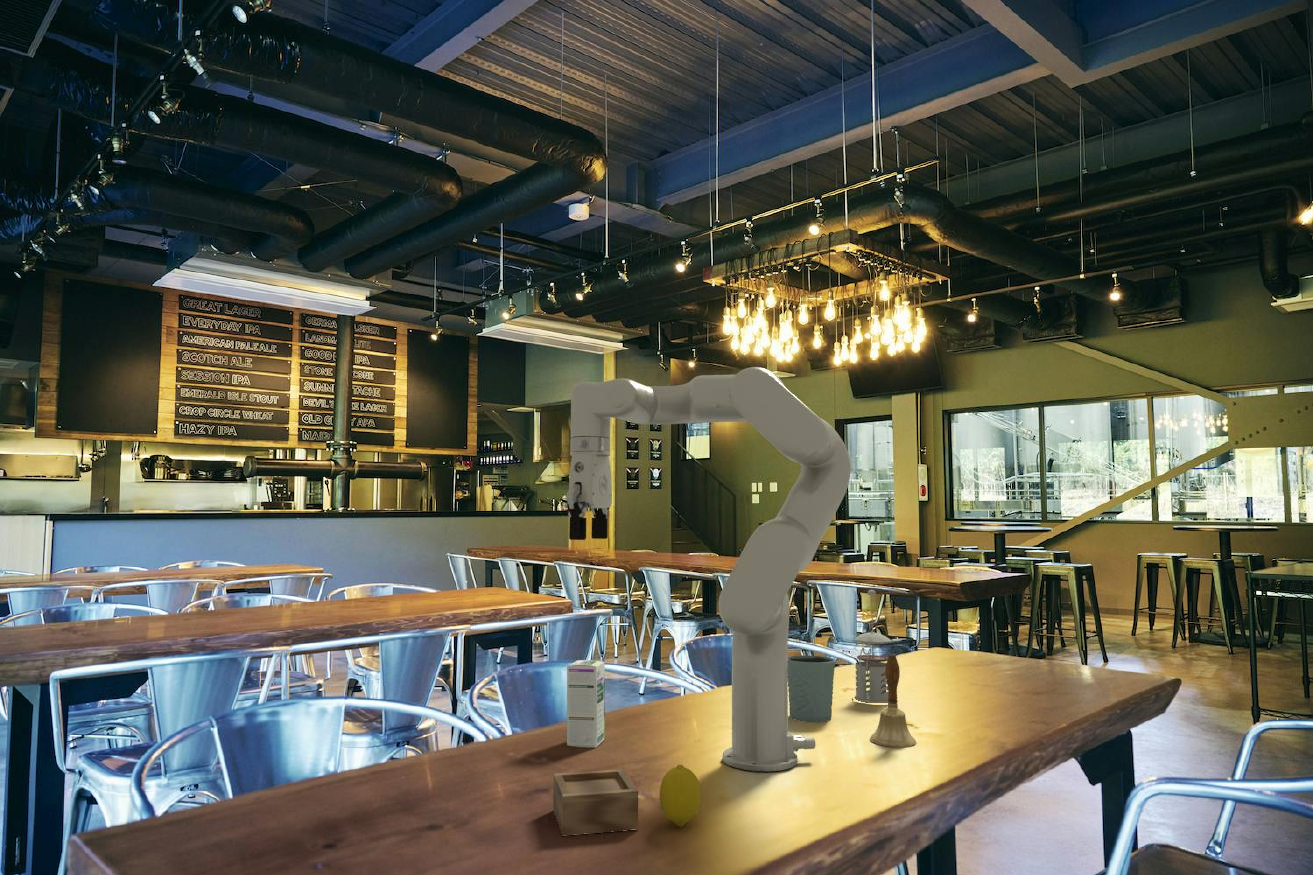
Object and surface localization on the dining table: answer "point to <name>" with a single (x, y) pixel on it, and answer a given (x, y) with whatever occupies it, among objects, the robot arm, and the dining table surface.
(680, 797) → the lemon
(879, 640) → the french press
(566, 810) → the brown wooden tray
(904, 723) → the hand bell
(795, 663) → the grey teal cup
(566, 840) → the dining table surface
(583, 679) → the syrup box
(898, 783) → the dining table surface
